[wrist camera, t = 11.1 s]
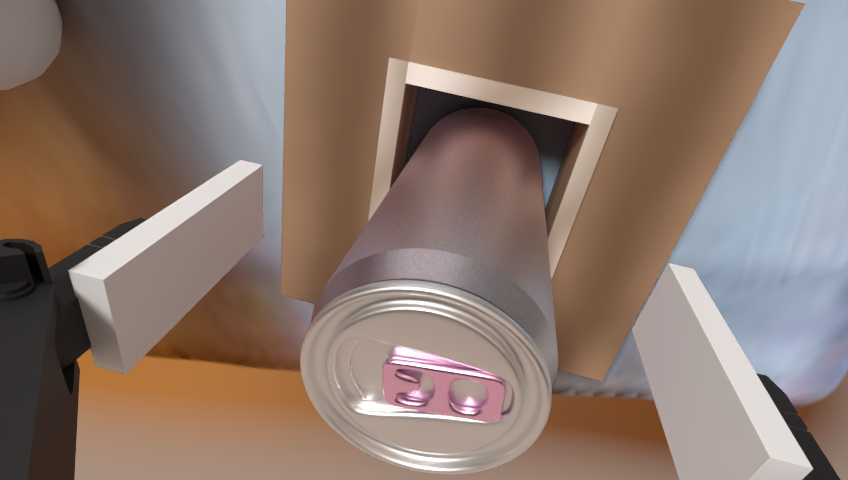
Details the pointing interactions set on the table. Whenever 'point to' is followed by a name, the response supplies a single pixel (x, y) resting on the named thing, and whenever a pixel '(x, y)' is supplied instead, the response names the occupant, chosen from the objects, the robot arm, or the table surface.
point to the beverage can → (443, 308)
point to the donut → (27, 39)
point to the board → (537, 92)
